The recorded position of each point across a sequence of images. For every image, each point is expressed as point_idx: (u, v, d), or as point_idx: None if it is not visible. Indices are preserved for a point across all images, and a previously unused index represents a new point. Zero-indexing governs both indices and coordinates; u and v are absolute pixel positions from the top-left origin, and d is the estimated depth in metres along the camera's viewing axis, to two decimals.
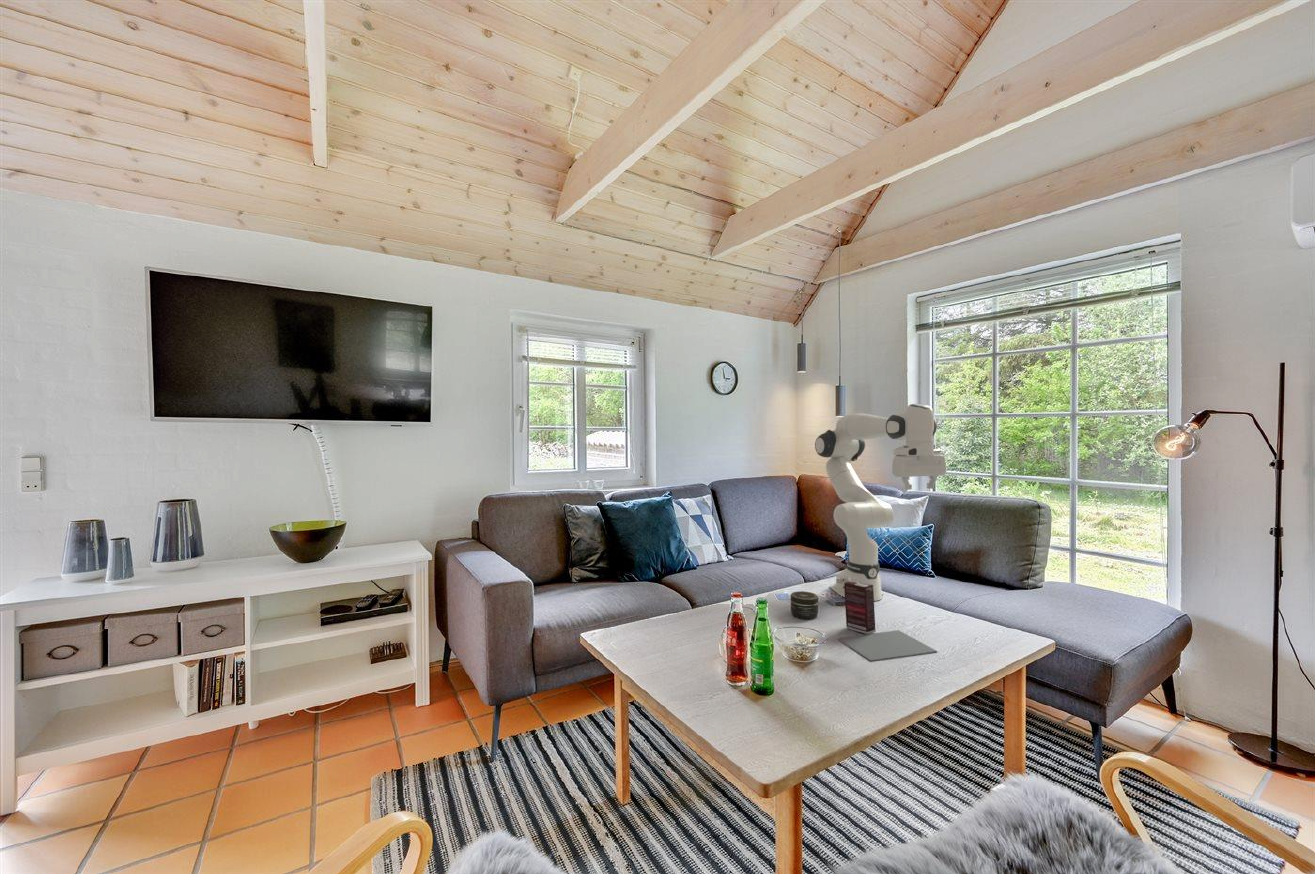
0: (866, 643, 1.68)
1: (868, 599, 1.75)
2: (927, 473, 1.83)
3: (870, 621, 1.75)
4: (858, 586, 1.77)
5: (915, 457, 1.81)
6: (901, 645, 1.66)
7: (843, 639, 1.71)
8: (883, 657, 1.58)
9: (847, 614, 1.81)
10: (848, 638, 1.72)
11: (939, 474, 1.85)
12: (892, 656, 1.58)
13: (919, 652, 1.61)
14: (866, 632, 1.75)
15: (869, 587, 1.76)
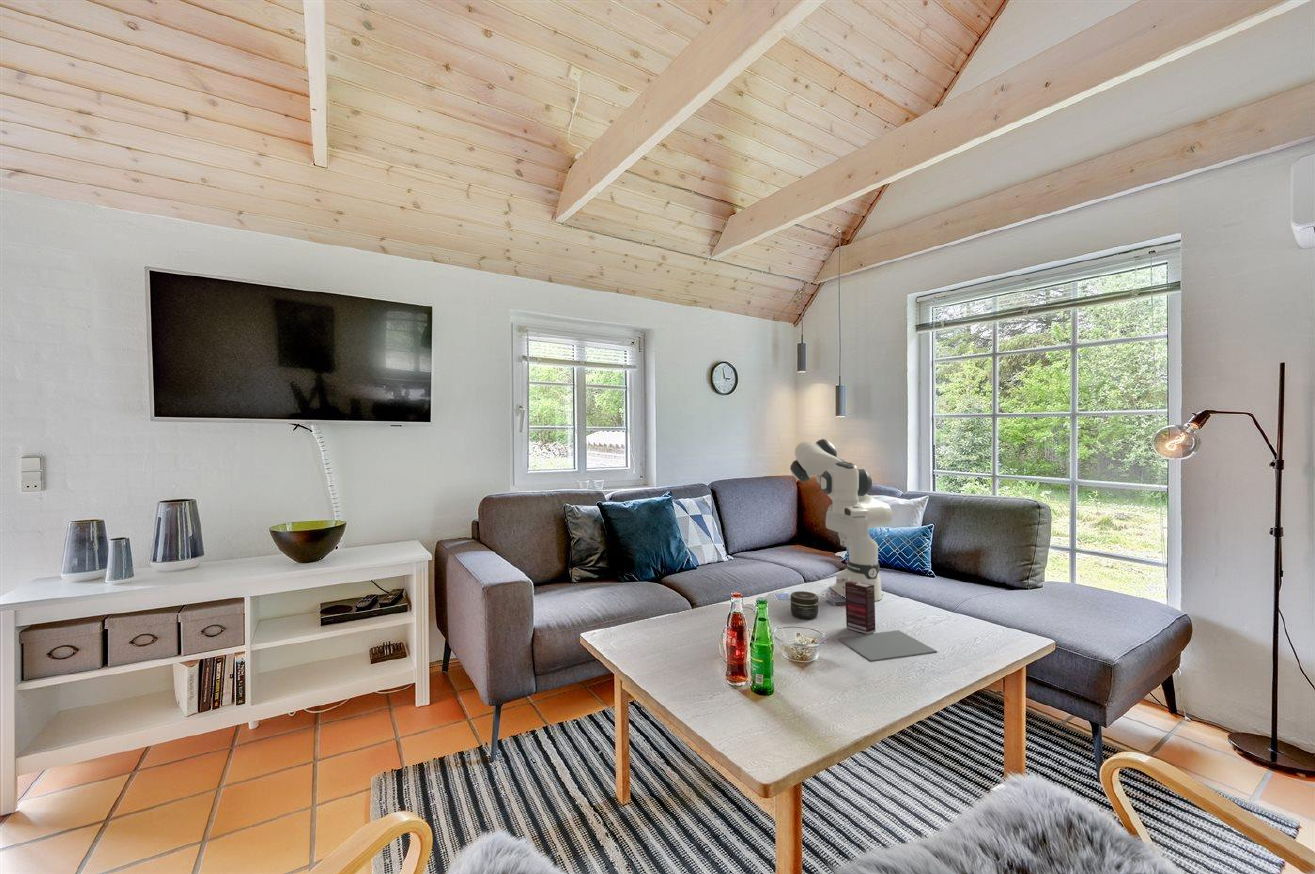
0: (866, 643, 1.68)
1: (869, 599, 1.75)
2: None
3: (870, 621, 1.75)
4: (859, 586, 1.77)
5: None
6: (901, 645, 1.66)
7: (843, 639, 1.71)
8: (883, 657, 1.58)
9: (847, 614, 1.81)
10: (848, 638, 1.72)
11: None
12: (892, 656, 1.58)
13: (919, 652, 1.61)
14: (866, 632, 1.75)
15: (870, 587, 1.76)
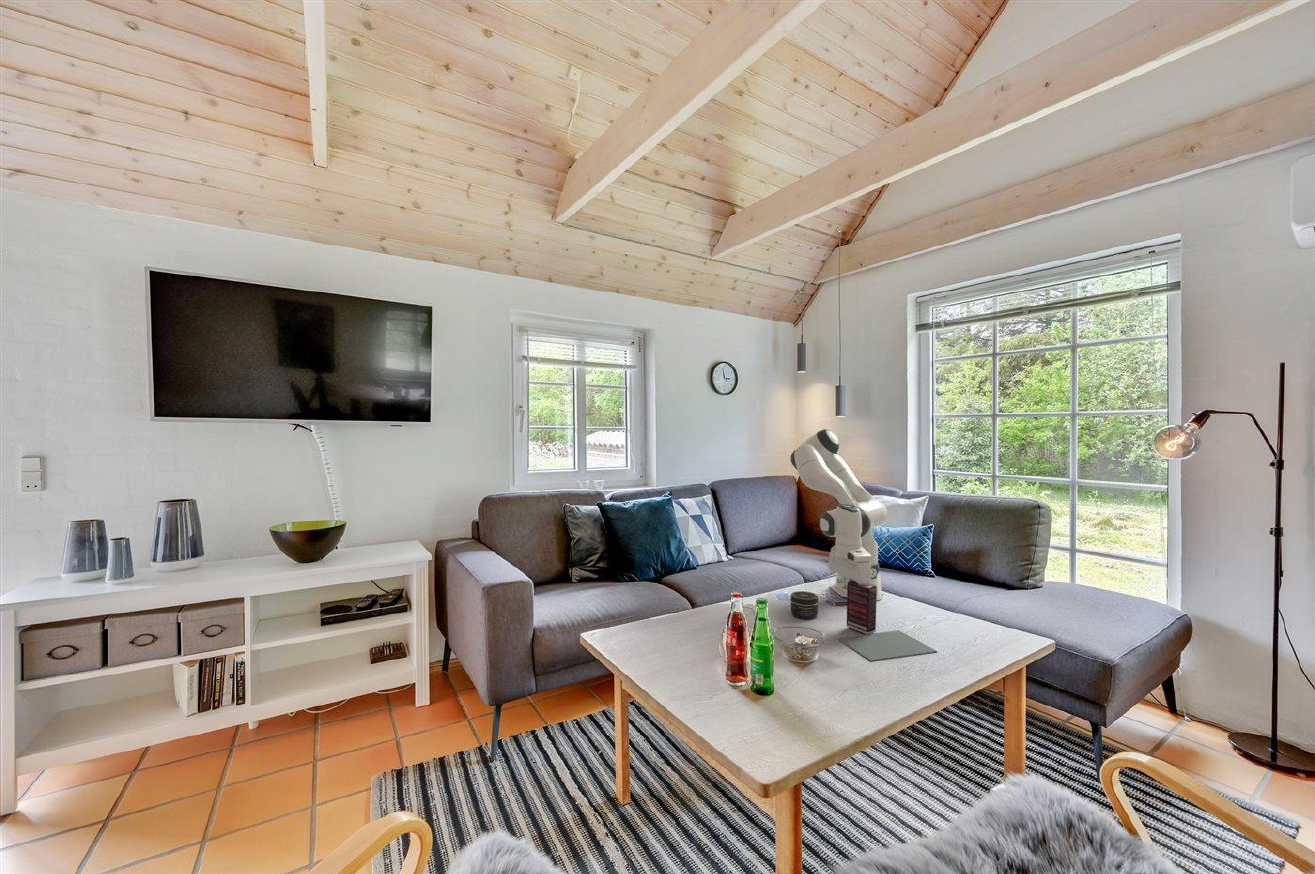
0: (866, 643, 1.68)
1: (871, 600, 1.74)
2: None
3: (871, 621, 1.75)
4: (862, 586, 1.76)
5: None
6: (901, 645, 1.66)
7: (843, 639, 1.71)
8: (883, 657, 1.58)
9: (848, 613, 1.80)
10: (848, 638, 1.72)
11: None
12: (892, 656, 1.58)
13: (919, 652, 1.61)
14: (866, 632, 1.75)
15: (873, 588, 1.75)
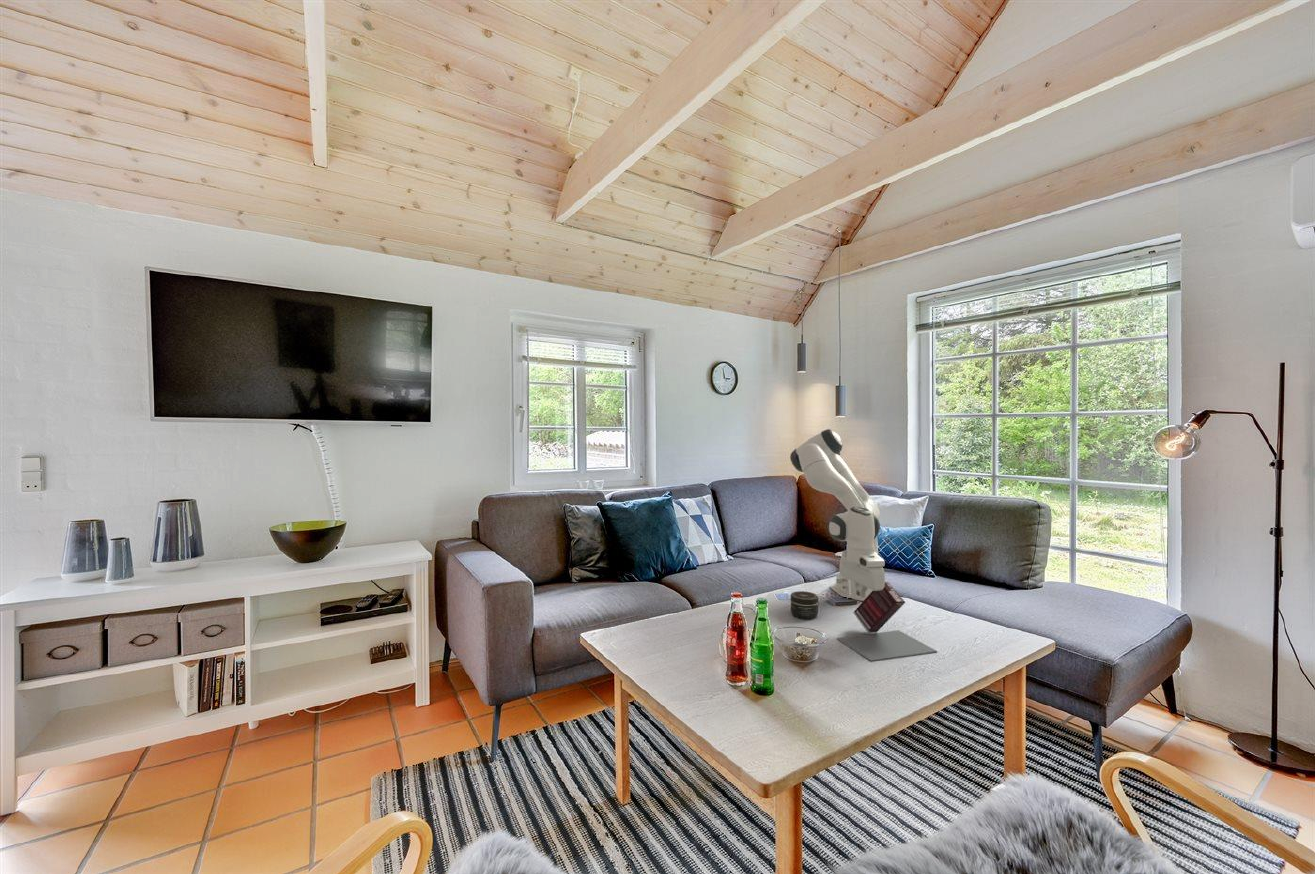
0: (866, 643, 1.68)
1: (891, 611, 1.70)
2: None
3: (878, 625, 1.74)
4: (891, 595, 1.70)
5: None
6: (901, 645, 1.66)
7: (843, 639, 1.71)
8: (883, 657, 1.58)
9: (862, 604, 1.78)
10: (848, 638, 1.72)
11: None
12: (892, 656, 1.58)
13: (919, 652, 1.61)
14: (867, 630, 1.75)
15: (900, 603, 1.69)
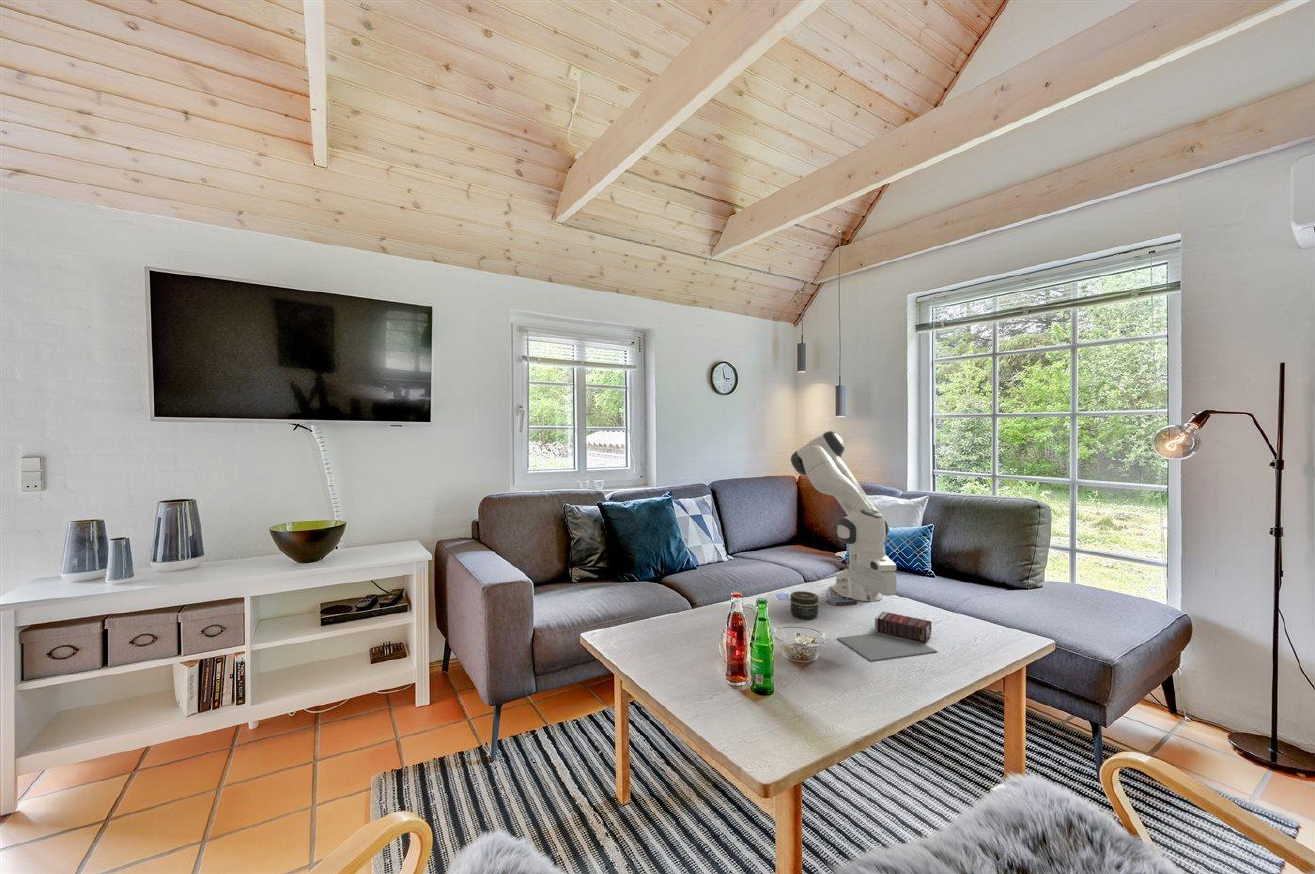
0: (866, 643, 1.68)
1: (911, 629, 1.70)
2: None
3: (887, 625, 1.75)
4: (926, 626, 1.70)
5: None
6: (901, 645, 1.66)
7: (843, 639, 1.71)
8: (883, 657, 1.58)
9: (896, 614, 1.80)
10: (848, 638, 1.72)
11: None
12: (892, 656, 1.58)
13: (919, 652, 1.61)
14: (877, 617, 1.77)
15: (924, 635, 1.68)
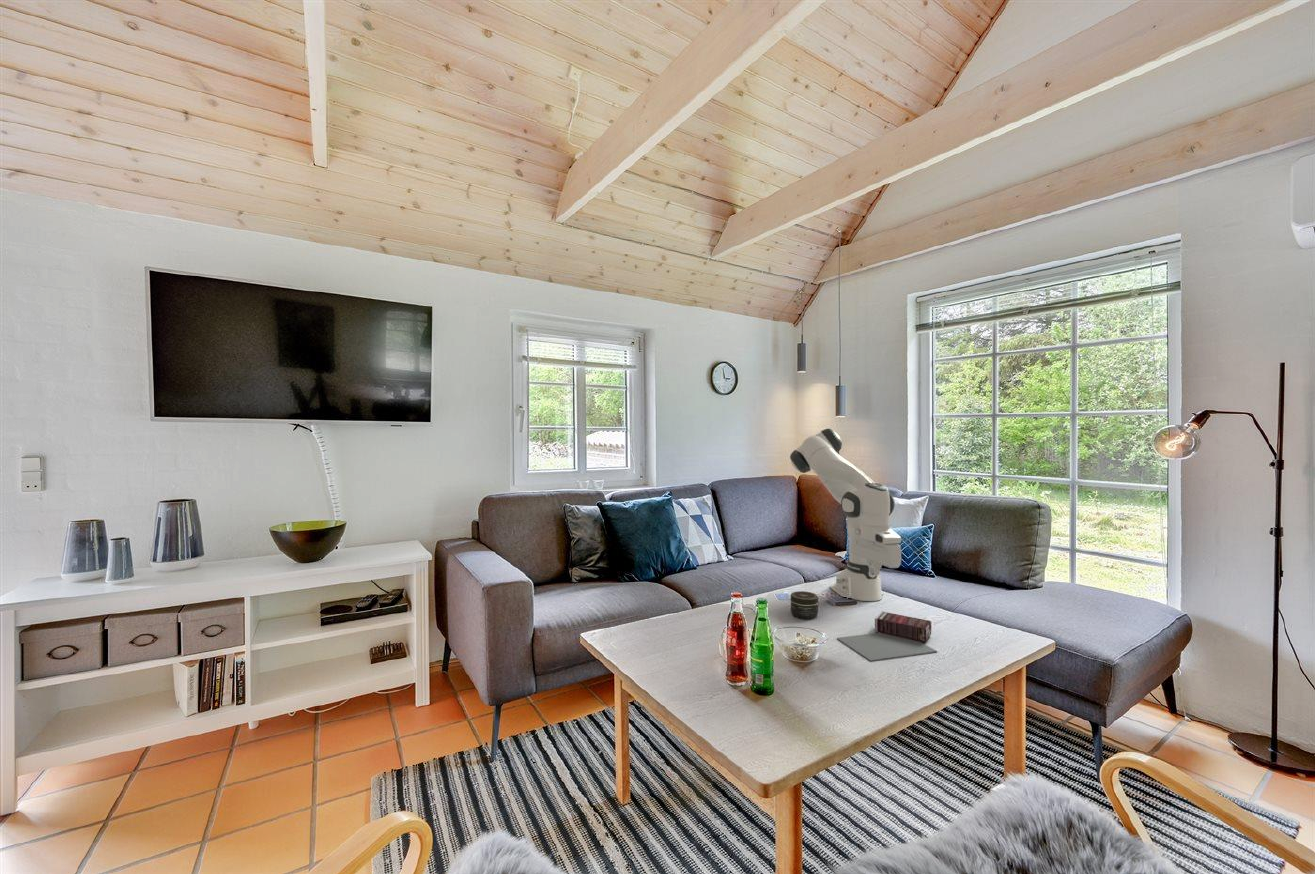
0: (866, 643, 1.68)
1: (911, 629, 1.70)
2: None
3: (887, 626, 1.75)
4: (926, 626, 1.70)
5: None
6: (901, 645, 1.66)
7: (843, 639, 1.71)
8: (883, 657, 1.58)
9: (895, 614, 1.80)
10: (848, 638, 1.72)
11: None
12: (892, 656, 1.58)
13: (919, 652, 1.61)
14: (876, 618, 1.77)
15: (924, 635, 1.68)
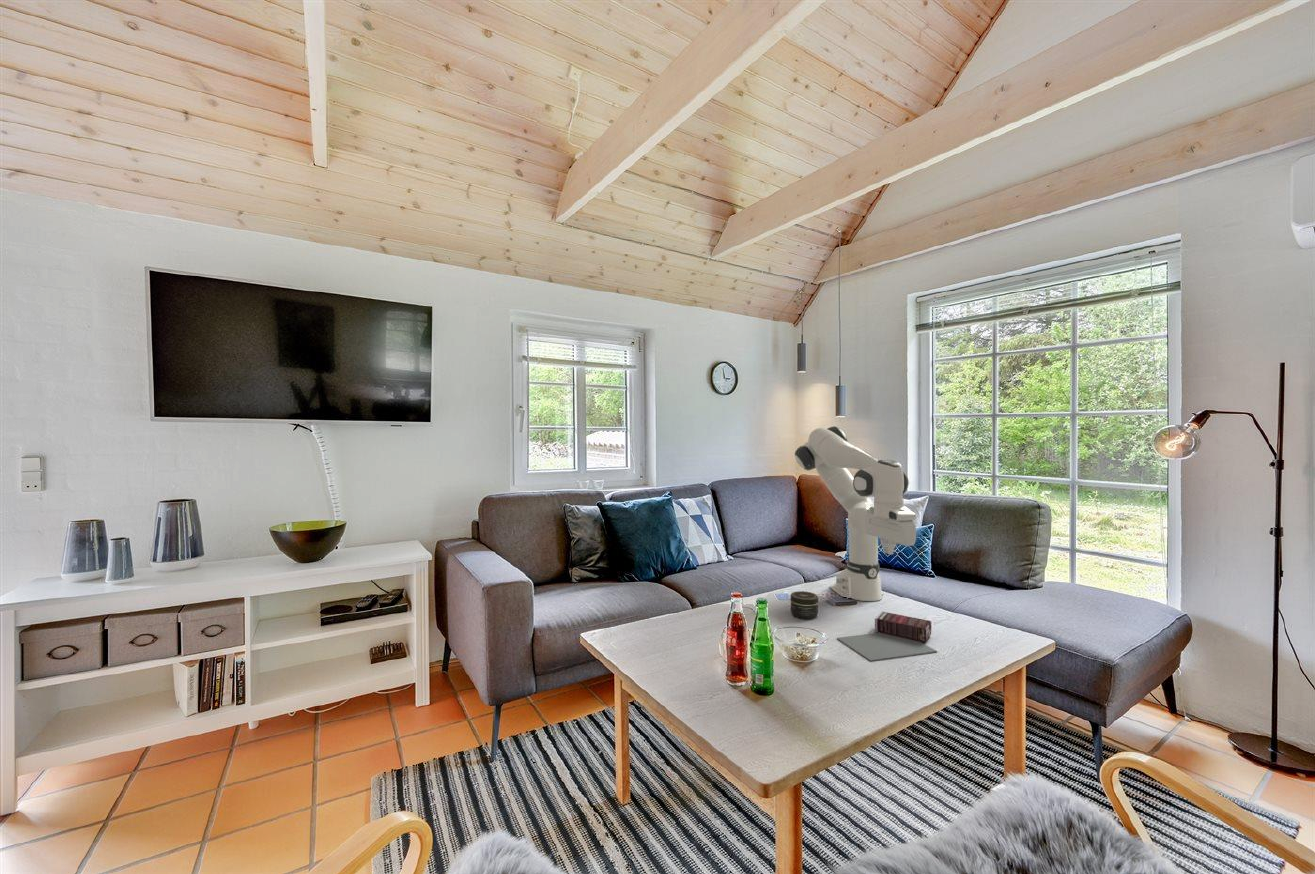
0: (866, 643, 1.68)
1: (911, 629, 1.70)
2: None
3: (887, 626, 1.75)
4: (926, 626, 1.70)
5: None
6: (901, 645, 1.66)
7: (843, 639, 1.71)
8: (883, 657, 1.58)
9: (895, 614, 1.80)
10: (848, 638, 1.72)
11: None
12: (892, 656, 1.58)
13: (919, 652, 1.61)
14: (876, 618, 1.77)
15: (924, 635, 1.68)
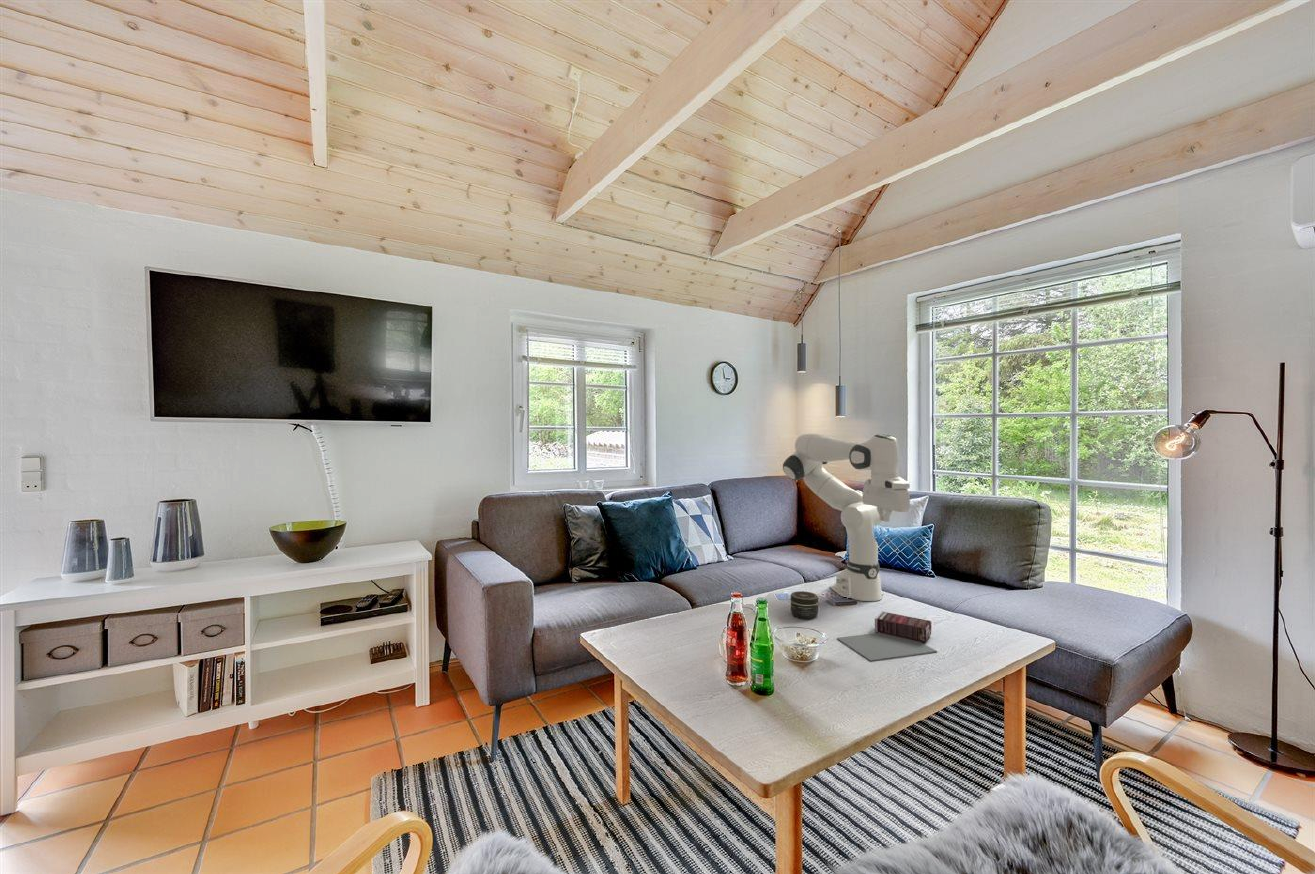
0: (866, 643, 1.68)
1: (911, 629, 1.70)
2: None
3: (887, 626, 1.75)
4: (926, 626, 1.70)
5: None
6: (901, 645, 1.66)
7: (843, 639, 1.71)
8: (883, 657, 1.58)
9: (895, 614, 1.80)
10: (848, 638, 1.72)
11: None
12: (892, 656, 1.58)
13: (919, 652, 1.61)
14: (876, 618, 1.77)
15: (924, 635, 1.68)
